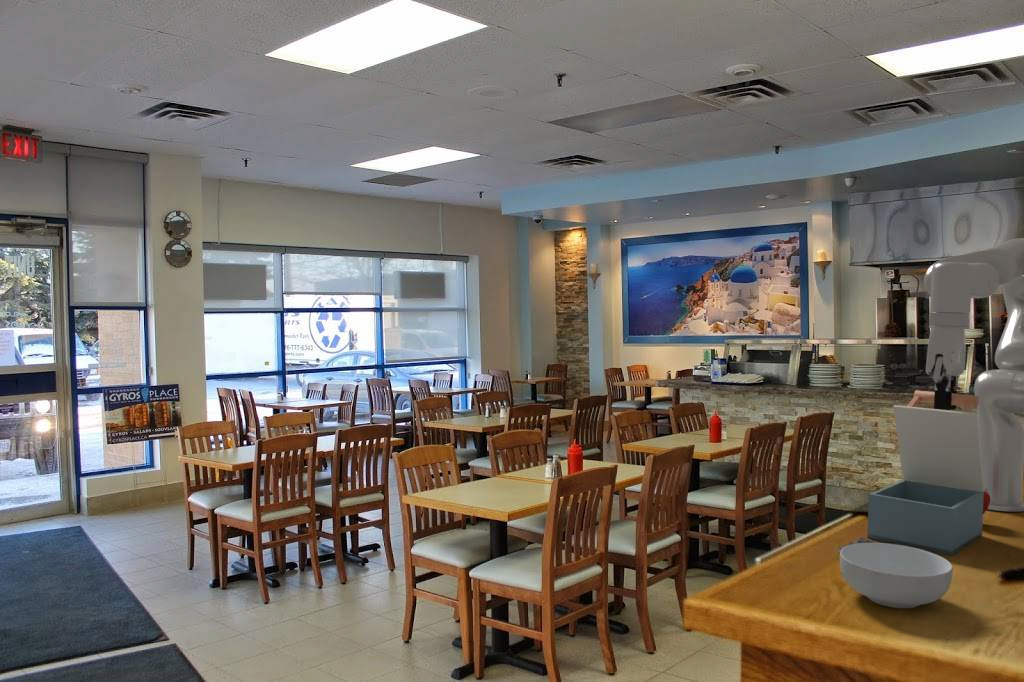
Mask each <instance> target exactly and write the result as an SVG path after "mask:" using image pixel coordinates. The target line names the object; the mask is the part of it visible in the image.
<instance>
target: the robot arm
mask: <svg viewBox="0 0 1024 682" xmlns="http://www.w3.org/2000/svg"><path fill="white" fill-rule="evenodd" d="M923 285H924V289H925V290H926V292H927V293H928V294H929V295H930V304H929V305H930V306H929V318H928V319H929V320H928V321H929V322H928V324H929V325H928V328H929V329H930V332H929V337H928V343H927V344H928V345H927V351H926V365H925V373H926V374H927V375H928V376H932V381H934V392H935V396H934V403H933V409H939V410H949V411H956V409H957V405H951V401H952V393H953V394H958V389H959V388H958V387H959V385H958V384H959V378H960V376H961V375H963V374H964V372H965V367H966V354H967V353H966V349H967V347H966V345H967V343H966V342H967V341H966V330H970V324H971V323H970V321H971V304H972V299H984V298H985V299H986V298H989V297H990V296H992V295H993V294H994V293H996V292H997V291H998V288H999V286H1001V291H1002V295H1003V296H1002V297H1003V300H1004V304H1005V308H1006V313H1007V320H1006V322H1005V326H1004V329H1003V332H1002V334H1001V336H1000V339H999V342H998V344H997V347H996V350H995V354H994V363H995V365H996V367H997V368H998V369H990V370H985V371H983V372H981V373H980V374H978V375H977V377H976V379H975V382H974V385H973V389H974V390H973V391H974V395H976V396H978V397H979V404H978V407H976V412H977V416H978V426H979V437H980V447H981V458H982V468H983V479H984V488H985V489H988V490H985V491H986V492H987V493H988V494H989V495H990V503H989V506H988V509H987V510H990V511H996V512H997V511H999V512H1008V513H1011V512H1012V513H1014V512H1015V513H1020V512H1024V499H1023V483H1024V482H1023V481H1024V480H1023V479H1024V427H1023V424H1022V423H1021V421H1020V420H1019V418H1018V417H1017V416H1016V414H1024V237H1022V238H1021V237H1020V238H1018V237H1017V238H1012V239H1008V240H1007V241H1004V242H1001V243H1000V244H997V245H995V246H992V247H990V248H988V249H981V250H977V251H973V252H969V253H964V254H958V255H953V256H950V257H946V258H943V259H941V260H938V261H935V262H933V264H931V265H930V266H929V267H928V269H927V270H926V272H925V274H924V279H923Z"/></svg>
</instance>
